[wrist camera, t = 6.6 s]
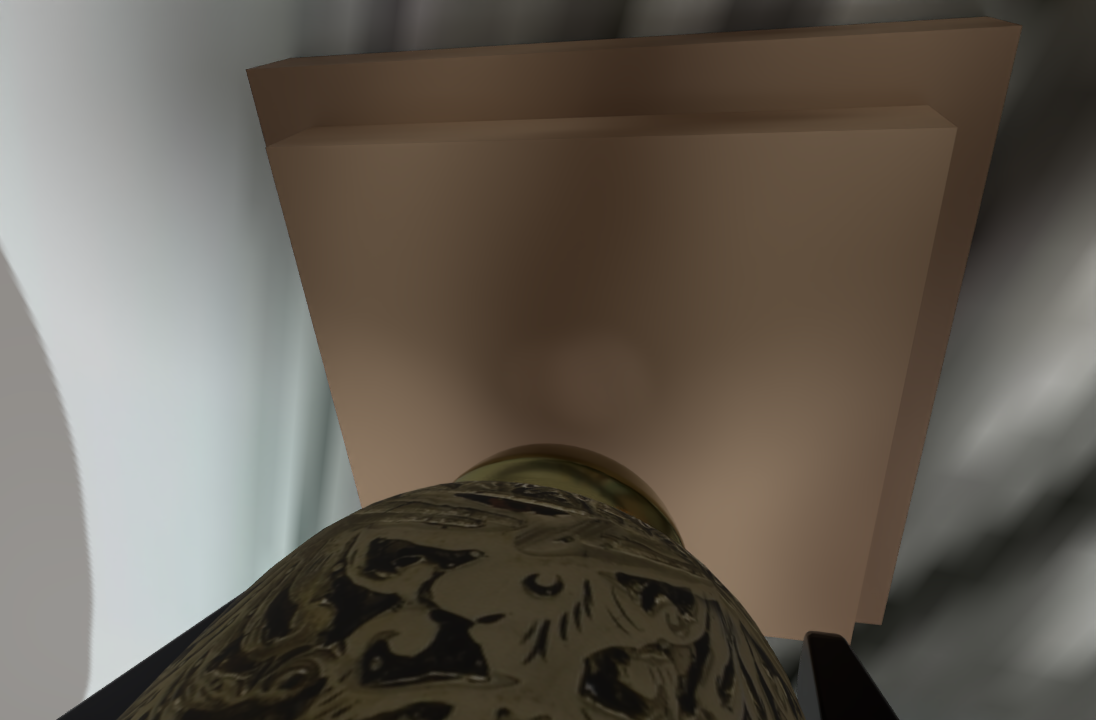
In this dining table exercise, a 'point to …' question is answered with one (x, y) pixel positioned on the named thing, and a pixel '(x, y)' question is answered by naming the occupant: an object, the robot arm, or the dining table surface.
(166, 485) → the dining table surface
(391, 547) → the cup
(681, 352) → the plinth
